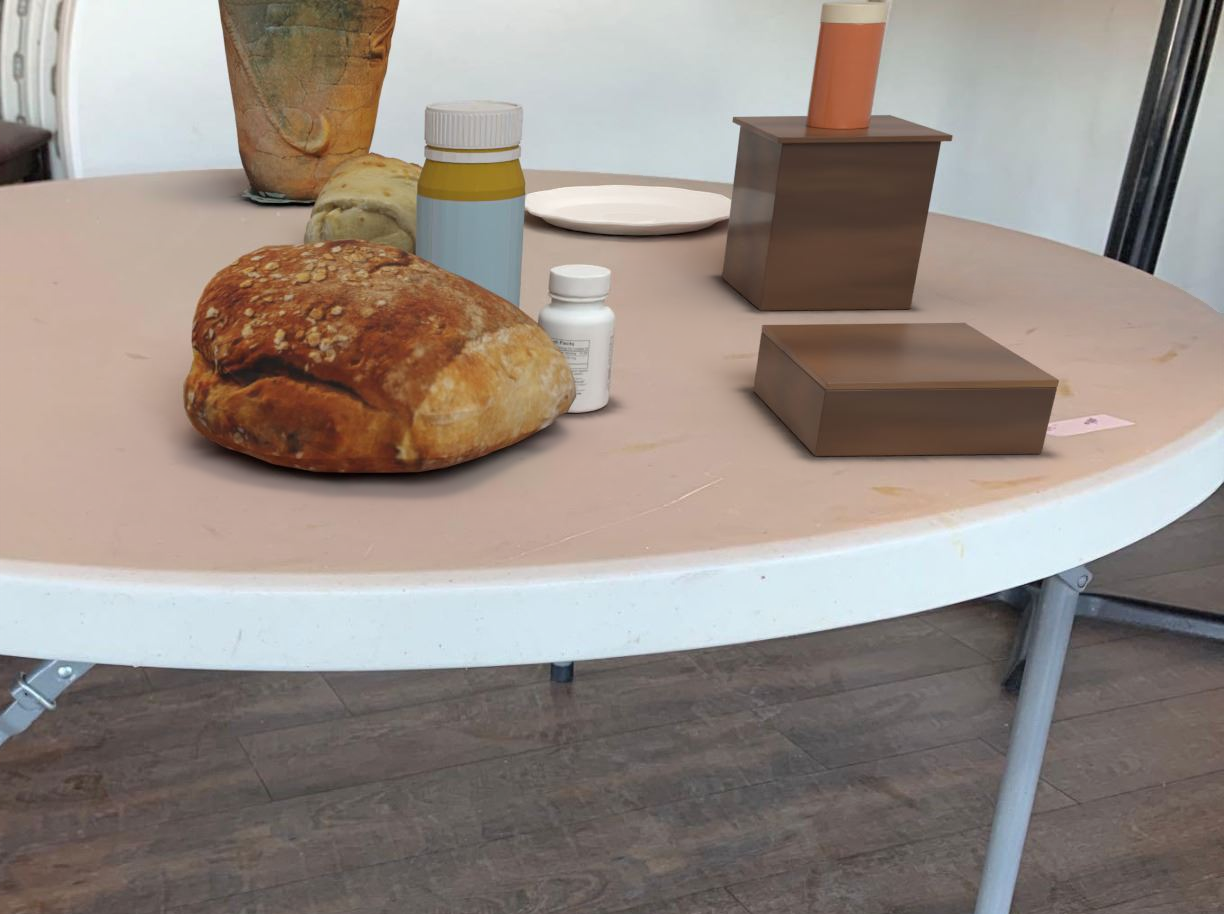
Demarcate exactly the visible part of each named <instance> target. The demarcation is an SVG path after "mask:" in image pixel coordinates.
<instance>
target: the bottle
mask: <svg viewBox="0 0 1224 914" xmlns="http://www.w3.org/2000/svg"><path fill="white" fill-rule="evenodd" d="M523 120H524V108H523V105H522V104H521V103H517V102H511V101H500V100H499V101H498V100H451V101H438V102H433V103H428V104H426V105H425V109H424V134H423V139H424V142H425V144H426V145H424V150H423V151H424V152H423V156H424V158H425V160H424V163H423V166H422V168H423V169H422V171H421V174H420V177H419V180H418V183H417V205H416V256H418V257H420V258H422V259H424V260H426V261H428V262H430V263H432V264H434V265H436V266H438V267H440V268H442V269H444V270H447V271H449V272H451V273H454V274H456V275H458V276H461V277H463V278H465V279H468V280H470V281H472V282H474V283H476V284H478V285H480V286H481V287H483V288H485V289H487V290H489V291H491V292H493V293H495V294H496V295H498V296H500V297H502V298H504V299H506V300H507V301H509V302H510V303H512V304H514V305H515V306H517V307H518V308H519V309H520V305H521V304H520V302H521V285H522V284H521V283H522V267H523V265H522V264H523V249H524V248H523V247H524V228H525V227H524V225H525V211H526V210H525V196H526V179H525V176H524V173H523V169H522V164H521V162H520V158H521V156H522V146H521V145H520V144H521V141H523V122H524V121H523Z"/></svg>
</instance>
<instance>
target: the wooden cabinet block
mask: <svg viewBox="0 0 1224 914" xmlns="http://www.w3.org/2000/svg"><path fill="white" fill-rule="evenodd" d="M806 118H807V115H790V116H789V115H778V116H775V115H774V116H772V115H771V116H767V115H766V116H764V115H763V116H733V117H732V123H734V124H736V125H737V126H739V135H738V143H737V151H736V158H735V159H736V160H735V168H734V174H733V175H734V176H733V184H732V193H731V199H732V200H731V208H730V216H729V219H728V225H727V232H726V242H725V249H724V251H725V252H724V258H723V267H722V268H723V269H722V273H721V274H722V275H721V279H723V280H724V281H725V282H727V284H729V285H730V286H731V287H732V288H733V289H735V290H736V292H738V294H740V295H741V296H742V297H744V298H745V299H746V300H747V301H748V302H750V303H751V305H753V306H754V307H756V309H757V310H759V311H760V312H761V311H762V312H766V311H769V312H770V311H771V312H773V311H846V310H848V311H854V310H855V311H857V310H859V311H860V310H861V311H862V310H863V311H864V310H911V308H912V307H911V306H912V302H913V297H914V291H915V285H916V280H917V275H918V269H919V266H920V265H919V263H920V260H921V259H920V258H921V253H922V248H923V242H924V238H925V233H926V227H927V221H928V215H929V210H930V205H931V199H932V194H933V188H934V183H935V177H936V171H937V167H938V161H939V157H940V156H939V155H940V151H941V145H942V142H952V141H953V136H954V135H953V134H951V133H947V132H944V131H941V130H938V129H935V128H932V127H930V126H929V127H928V126H925V125H923V124H920V123H916V122H913V121H910V120H907V119H903V118H901V117H898V116H894V115H891V114H874V115H873V114H871V119H870V126H869V127H867V128H861V129H825V128H815V127H810V126H807V125H806Z"/></svg>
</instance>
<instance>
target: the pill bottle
mask: <svg viewBox="0 0 1224 914" xmlns="http://www.w3.org/2000/svg"><path fill="white" fill-rule="evenodd" d="M611 281H612V271H611V269H609V268H607V267H604V266H601V265H595V264H584V263H583V264H580V263H579V264H577V263H575V264H563V265H557V266H554V267H551V268H550V270H549V279H548V292H547V296H548V297H549V298H551V302H550V303H548V304H546V305H545V306H544V307H542V309H540V311H539V313H538V317H537V323H538V324H539V325H540V326H541V327H542V328H543V329H544V330H545V331H546V332H547V333H548V334H549V336H550V337H551V339H552V340H553V342H554V343H555V345H556V346H557V348H558V349H559V350H560V351H561V353H562V354H563V355H564V356H565V358H566V360H567V361H568V363H569V366H570V368H571V371H572V374H573V377H574V379H575V388H576V398H575V400H574V401H573V403H572V405H571V407H570V409H569V410H568V412H567V413H569V414H570V413H572V414H573V413H574V414H578V413H587V412H588V413H589V412H593V411H597V410H600V409H602V408H603V407H605V406H606V405H607V404H608V403H609V399H610V389H611V376H612V365H613V353H614V342H615V341H614V339H615V329H616V314H615V313H614V311H613V310H612V309H611V308H610V307H609V306H607V305H605V300H606V299H608V298H609V297H610V294H609V293H610V292H611Z"/></svg>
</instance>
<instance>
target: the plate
mask: <svg viewBox="0 0 1224 914" xmlns="http://www.w3.org/2000/svg"><path fill="white" fill-rule="evenodd" d="M731 200H732V198H729V197H727V196H725V195H723V194H719V193H715V192H709V191H700V190H692V189H688V188H687V189H686V188H681V187H672V186H671V187H670V186H652V185H651V186H650V185H649V186H648V185H647V186H646V185H645V186H644V185H633V184H632V185H630V184H604V185H586V186H585V185H579V186H577V185H576V186H575V185H574V186H565V187H558V188H553V189H548V190H540V191H533V192H531V193H527V194H525V211H527V212H528V213H529V214H530V215H532V216H536V217H538V218H541V219H542V220H543V221H545V222H546V223H548V224H550V225H552V226H555V227H558V228H561V229H562V228H563V229H567V230H571V231H576V232H584V233H591V234H600V235H614V236H616V235H617V236H662V235H674V234H676V235H677V234H684V233H691V232H697V231H701V230H703V229H707V228H709V227H712V226H713V225H714V224H715V223H717V222H721V221H725V220H729V216H730V208H731Z"/></svg>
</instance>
